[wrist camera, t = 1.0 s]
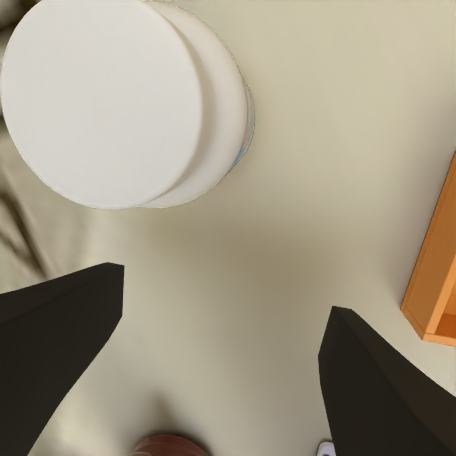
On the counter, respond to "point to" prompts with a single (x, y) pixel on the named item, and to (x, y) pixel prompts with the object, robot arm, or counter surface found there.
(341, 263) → the counter surface
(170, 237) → the counter surface
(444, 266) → the amber tray
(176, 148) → the pill bottle
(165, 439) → the mug
